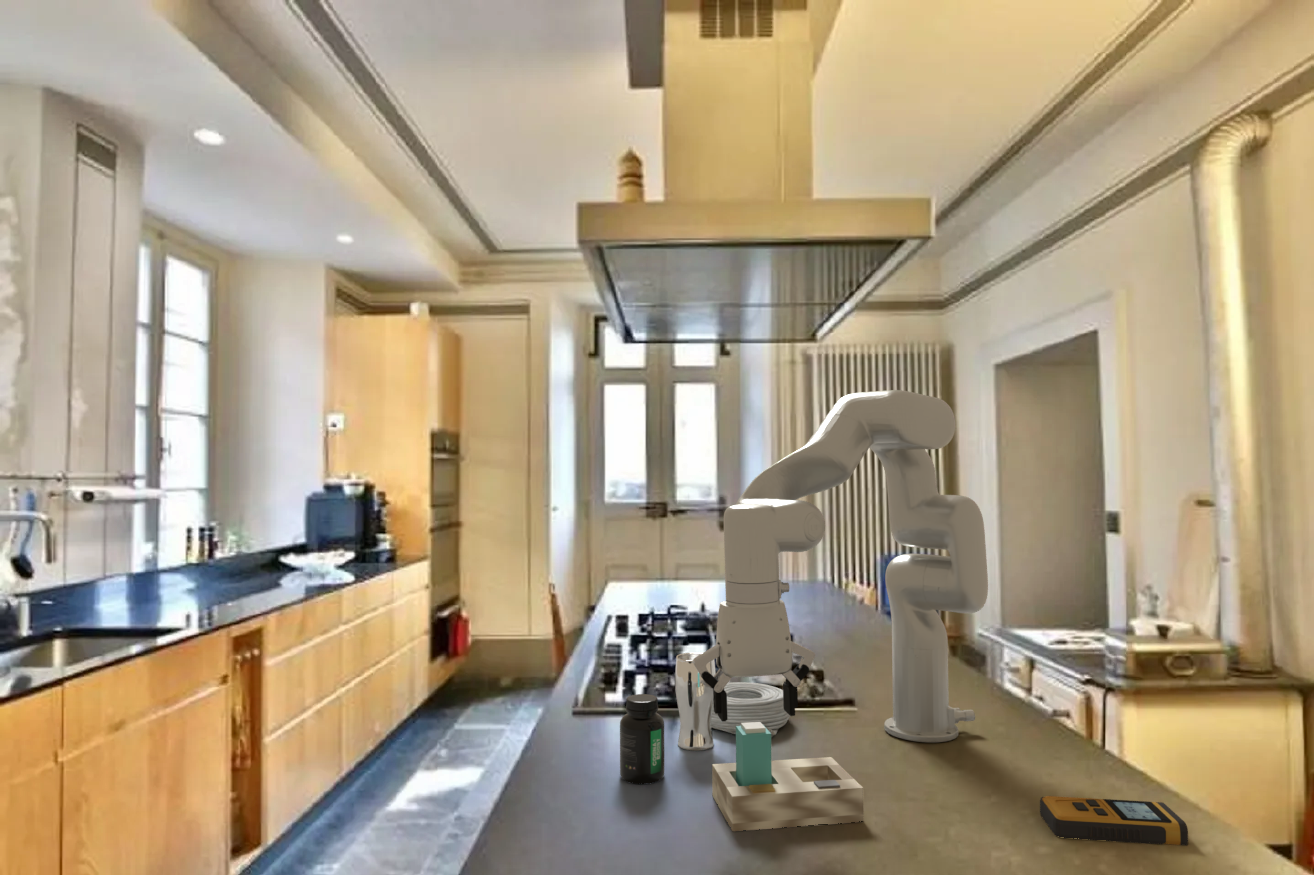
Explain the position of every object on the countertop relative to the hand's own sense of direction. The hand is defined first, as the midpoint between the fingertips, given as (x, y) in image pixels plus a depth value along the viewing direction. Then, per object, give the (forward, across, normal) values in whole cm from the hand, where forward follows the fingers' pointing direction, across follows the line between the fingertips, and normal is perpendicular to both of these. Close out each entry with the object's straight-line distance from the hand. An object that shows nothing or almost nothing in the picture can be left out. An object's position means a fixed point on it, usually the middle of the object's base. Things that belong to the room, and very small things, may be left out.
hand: (756, 715), depth 116 cm
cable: (+14, -8, -39) cm, 42 cm away
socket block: (+13, -4, +1) cm, 13 cm away
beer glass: (+14, +3, -27) cm, 31 cm away
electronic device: (+14, -44, +14) cm, 48 cm away
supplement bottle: (+13, +14, -14) cm, 24 cm away
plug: (+12, +1, 0) cm, 12 cm away
